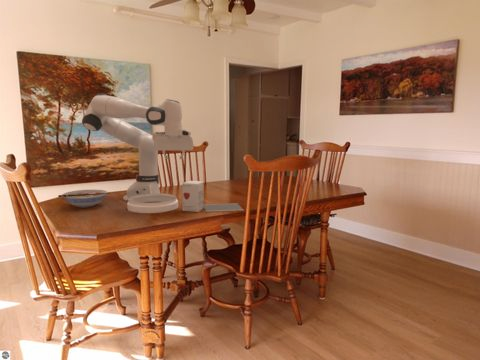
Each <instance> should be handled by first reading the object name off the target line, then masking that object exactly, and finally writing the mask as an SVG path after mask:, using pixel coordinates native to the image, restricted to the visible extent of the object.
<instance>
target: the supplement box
mask: <svg viewBox="0 0 480 360" xmlns="http://www.w3.org/2000/svg"><path fill="white" fill-rule="evenodd" d="M204 184H205V183H204V181H200V180H187V181H185V182H182V184H181V190H182V191H181V192H182V193H181V194H182V196H181V197H182V201H181V202H182V204H181V205H182V208H181V209H182V211H183V212H192V213H194V212H195V213H199V212H200V211H202V210H203V209H204V207H203V205H204Z"/></svg>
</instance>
